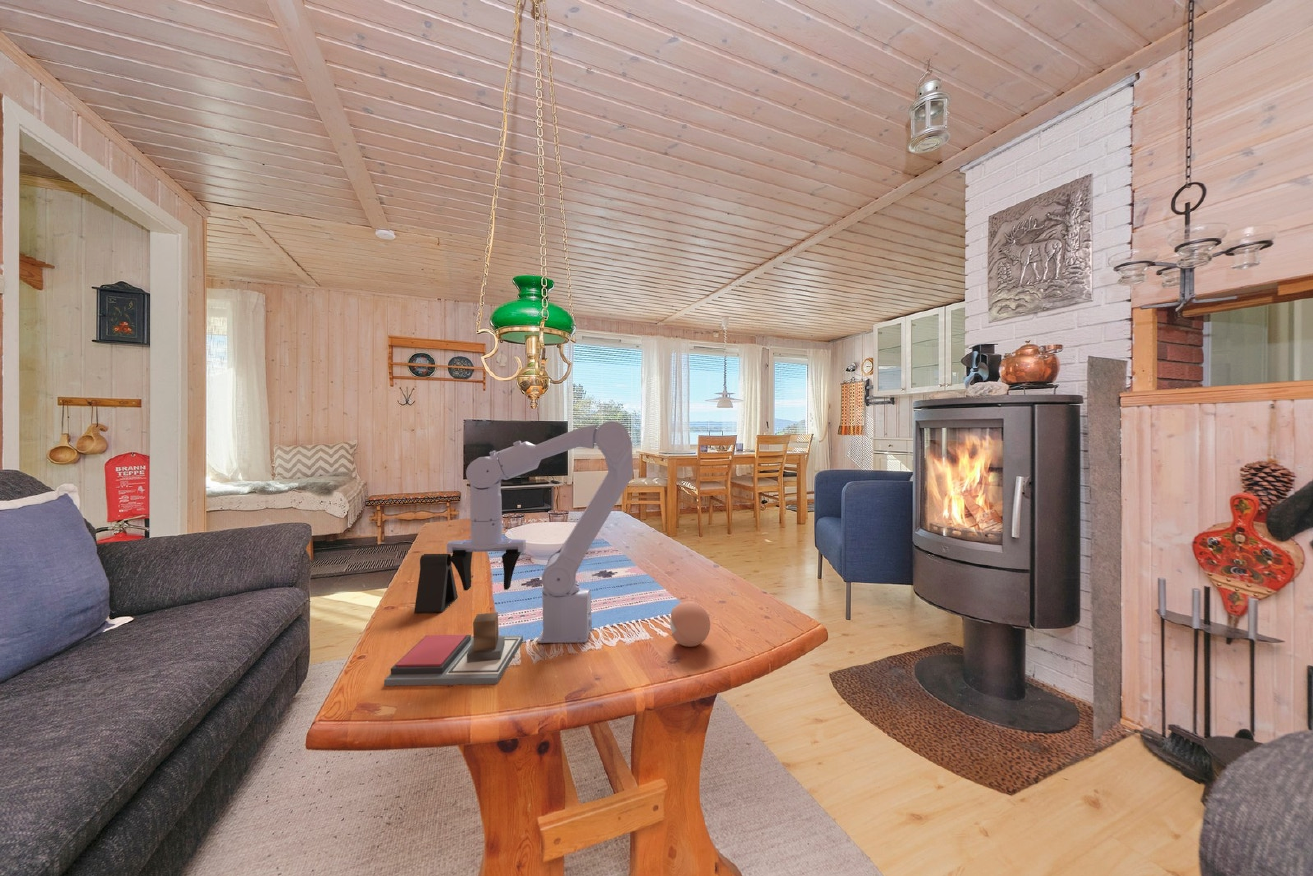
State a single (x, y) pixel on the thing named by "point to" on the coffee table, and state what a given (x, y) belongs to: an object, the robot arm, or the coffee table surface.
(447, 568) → the phone stand
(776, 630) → the coffee table surface
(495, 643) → the stamp
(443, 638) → the stamp board
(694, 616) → the toy ball
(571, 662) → the coffee table surface
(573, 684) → the coffee table surface
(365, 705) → the coffee table surface
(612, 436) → the robot arm
